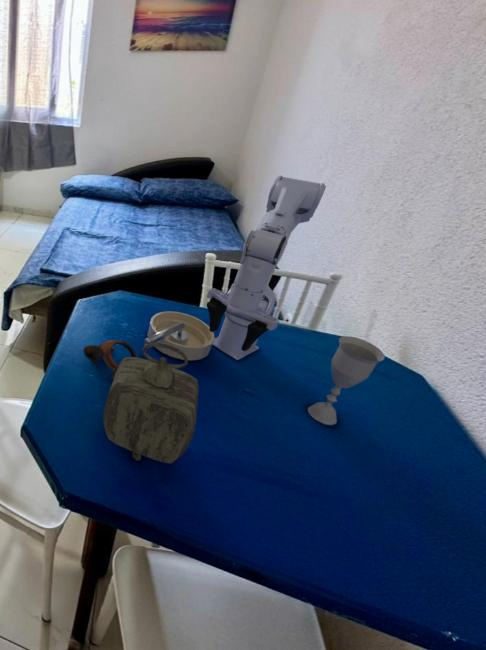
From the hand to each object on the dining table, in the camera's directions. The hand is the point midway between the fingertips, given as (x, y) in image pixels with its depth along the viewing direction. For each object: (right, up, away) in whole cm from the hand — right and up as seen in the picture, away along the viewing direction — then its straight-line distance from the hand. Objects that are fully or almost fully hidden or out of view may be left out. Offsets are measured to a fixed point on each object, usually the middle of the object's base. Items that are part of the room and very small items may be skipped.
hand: (228, 339), depth 90 cm
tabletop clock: (-25, -19, -14) cm, 34 cm away
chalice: (+17, -15, -5) cm, 23 cm away
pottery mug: (-26, -8, +6) cm, 27 cm away
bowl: (-5, -3, +15) cm, 16 cm away
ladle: (-9, -4, +13) cm, 16 cm away
